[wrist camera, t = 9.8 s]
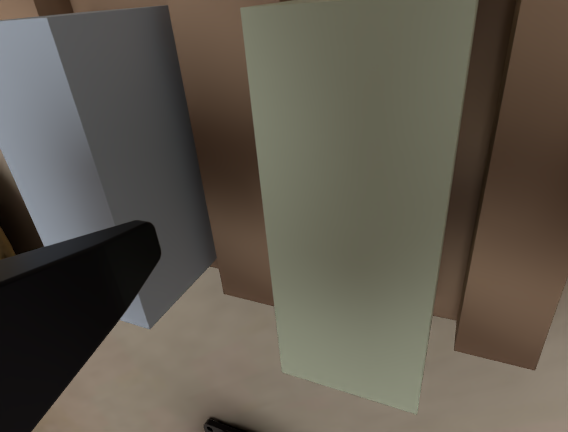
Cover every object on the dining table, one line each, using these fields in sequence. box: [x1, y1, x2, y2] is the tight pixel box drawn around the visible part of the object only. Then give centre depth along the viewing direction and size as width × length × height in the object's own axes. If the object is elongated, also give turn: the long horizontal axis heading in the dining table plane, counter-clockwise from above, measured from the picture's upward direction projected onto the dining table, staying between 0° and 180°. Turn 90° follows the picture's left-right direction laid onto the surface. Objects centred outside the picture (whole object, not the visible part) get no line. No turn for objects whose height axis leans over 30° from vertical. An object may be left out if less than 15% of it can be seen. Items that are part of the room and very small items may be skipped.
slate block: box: [0, 5, 217, 329], centre depth 14 cm, size 10×4×5 cm, turn 5°
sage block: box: [240, 0, 479, 415], centre depth 11 cm, size 10×4×5 cm, turn 5°
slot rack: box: [0, 0, 568, 370], centre depth 14 cm, size 12×20×2 cm, turn 95°
